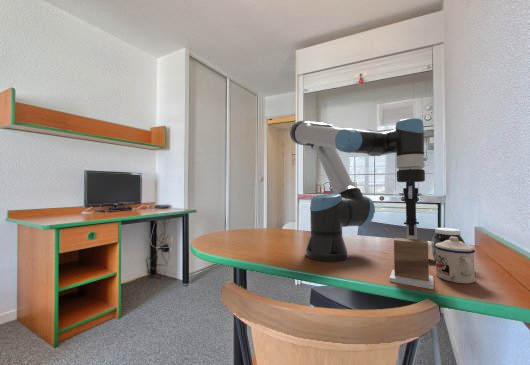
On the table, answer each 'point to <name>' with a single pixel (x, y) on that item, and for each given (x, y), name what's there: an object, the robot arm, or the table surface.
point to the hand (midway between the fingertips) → (411, 245)
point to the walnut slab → (411, 258)
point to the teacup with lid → (455, 261)
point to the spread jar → (443, 237)
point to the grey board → (412, 281)
